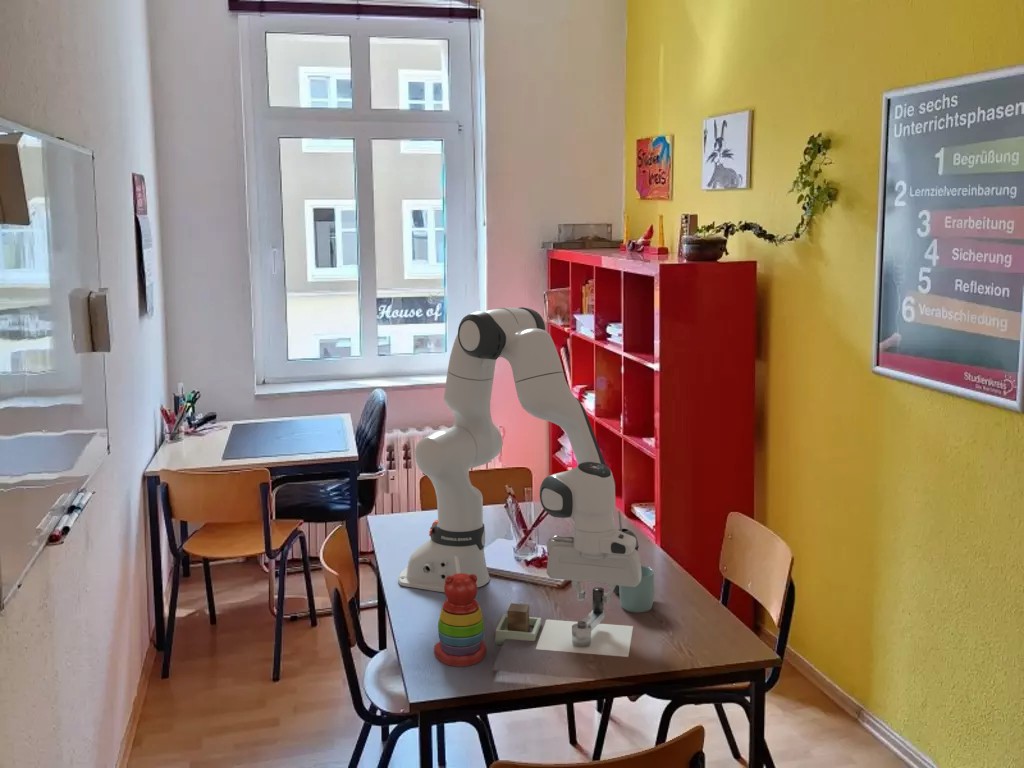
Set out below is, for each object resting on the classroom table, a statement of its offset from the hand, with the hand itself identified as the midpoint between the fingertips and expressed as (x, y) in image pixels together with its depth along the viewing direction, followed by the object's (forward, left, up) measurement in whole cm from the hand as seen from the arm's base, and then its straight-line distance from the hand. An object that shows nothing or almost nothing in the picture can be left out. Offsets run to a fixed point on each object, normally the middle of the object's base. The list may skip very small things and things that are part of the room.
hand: (593, 600), depth 209 cm
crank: (0, -5, -6) cm, 7 cm away
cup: (+8, +13, -8) cm, 18 cm away
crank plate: (-1, -5, -8) cm, 9 cm away
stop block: (-16, -5, -7) cm, 18 cm away
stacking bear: (-26, -16, -8) cm, 31 cm away
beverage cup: (+4, +25, -8) cm, 27 cm away
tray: (-16, -5, -8) cm, 18 cm away
